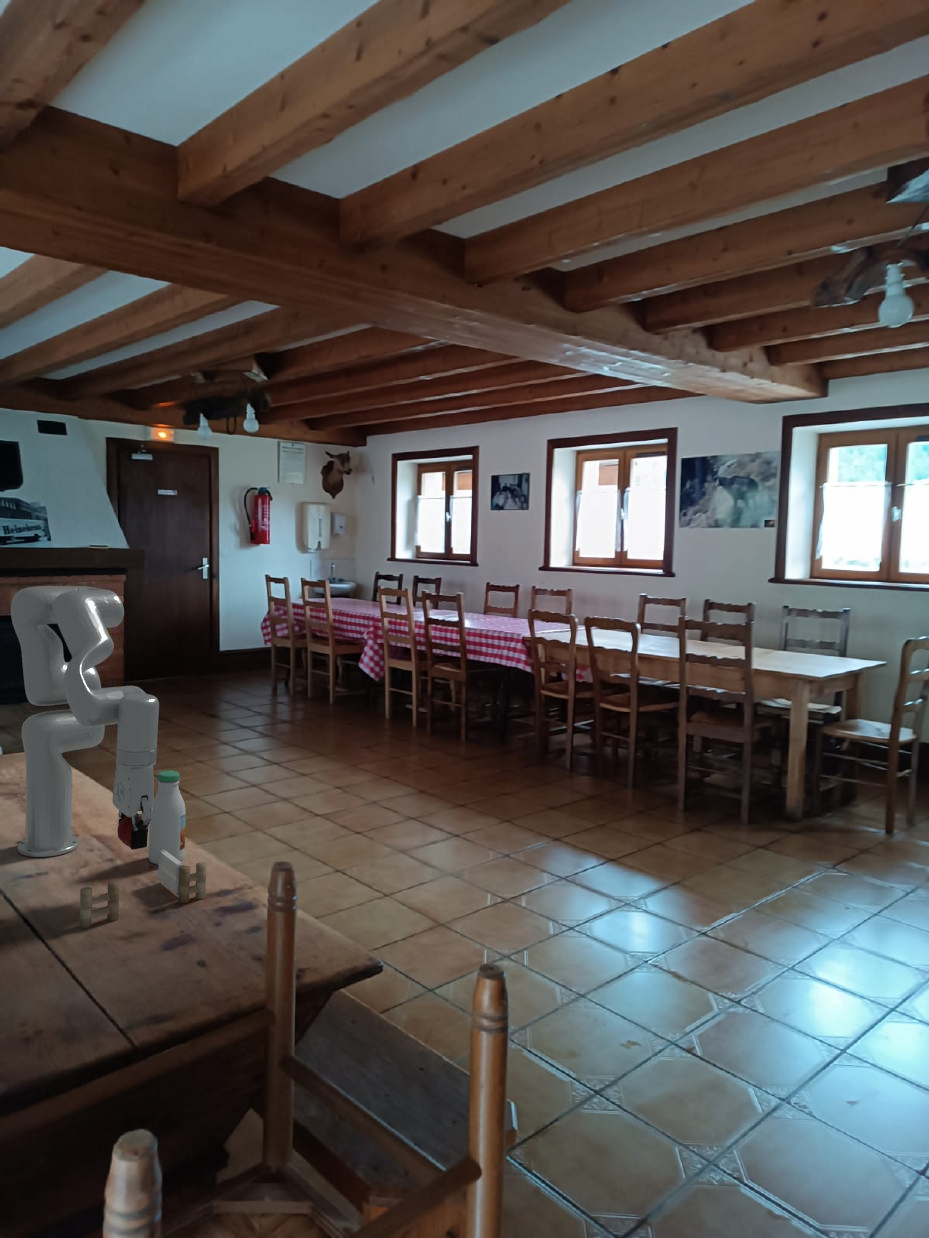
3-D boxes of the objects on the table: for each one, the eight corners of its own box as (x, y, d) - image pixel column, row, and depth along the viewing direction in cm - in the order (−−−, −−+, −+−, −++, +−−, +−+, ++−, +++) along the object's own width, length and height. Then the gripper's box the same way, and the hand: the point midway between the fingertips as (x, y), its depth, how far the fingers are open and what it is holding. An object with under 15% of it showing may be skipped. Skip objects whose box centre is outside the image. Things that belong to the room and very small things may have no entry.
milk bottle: (173, 867, 188) (175, 779, 186) (141, 863, 189) (143, 775, 188) (190, 855, 195) (193, 770, 194) (160, 851, 197) (162, 766, 195)
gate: (183, 894, 173) (184, 864, 172) (177, 895, 172) (178, 865, 172) (163, 877, 180) (164, 849, 180) (158, 879, 179) (158, 850, 179)
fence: (78, 924, 159) (78, 888, 158) (202, 894, 175) (203, 861, 175) (81, 928, 157) (82, 892, 157) (207, 897, 174) (208, 864, 173)
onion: (153, 845, 174) (155, 808, 173) (133, 855, 169) (135, 816, 168) (130, 839, 176) (132, 802, 175) (110, 849, 171) (112, 810, 170)
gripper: (102, 746, 174) (98, 831, 176) (133, 770, 161) (129, 861, 164) (138, 742, 179) (134, 825, 181) (172, 765, 166) (167, 853, 169)
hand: (132, 841), depth 172 cm, fingers closed on onion, 5 cm apart
